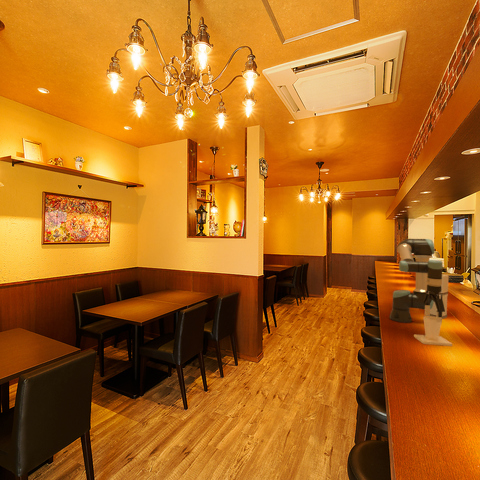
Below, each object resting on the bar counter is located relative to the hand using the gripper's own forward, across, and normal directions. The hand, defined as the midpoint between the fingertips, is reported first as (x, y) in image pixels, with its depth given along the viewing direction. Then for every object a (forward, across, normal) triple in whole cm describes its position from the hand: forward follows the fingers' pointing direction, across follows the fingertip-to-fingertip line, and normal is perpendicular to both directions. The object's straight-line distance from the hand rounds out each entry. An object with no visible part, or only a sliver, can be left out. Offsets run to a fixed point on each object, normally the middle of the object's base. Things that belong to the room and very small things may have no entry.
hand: (432, 318), depth 170 cm
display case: (+16, -61, +34) cm, 72 cm away
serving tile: (+14, +1, 0) cm, 14 cm away
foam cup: (+13, 0, 0) cm, 13 cm away
